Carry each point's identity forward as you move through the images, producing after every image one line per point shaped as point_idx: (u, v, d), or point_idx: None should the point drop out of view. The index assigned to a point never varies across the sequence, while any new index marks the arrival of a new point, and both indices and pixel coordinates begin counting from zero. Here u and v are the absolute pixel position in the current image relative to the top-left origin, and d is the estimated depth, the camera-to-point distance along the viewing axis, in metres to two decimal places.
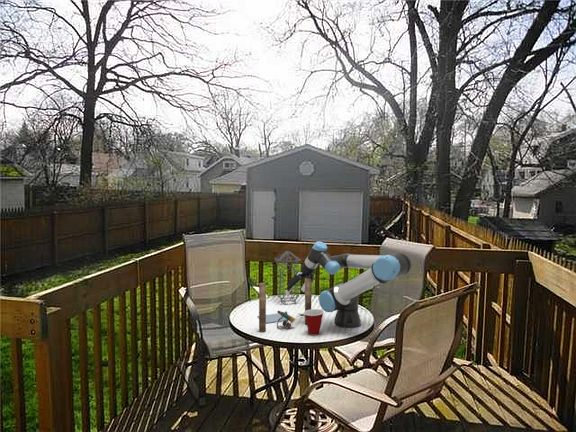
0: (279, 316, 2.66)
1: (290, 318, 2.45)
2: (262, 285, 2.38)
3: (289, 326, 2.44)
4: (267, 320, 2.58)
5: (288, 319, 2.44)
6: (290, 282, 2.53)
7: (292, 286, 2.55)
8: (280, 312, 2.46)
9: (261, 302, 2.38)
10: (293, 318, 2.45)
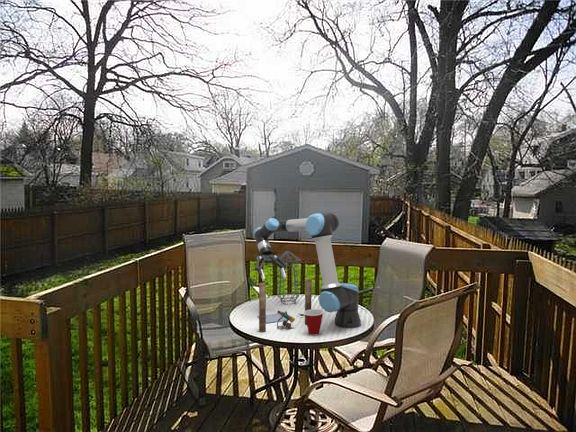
0: (279, 316, 2.66)
1: (290, 318, 2.45)
2: (262, 285, 2.38)
3: (289, 326, 2.44)
4: (267, 320, 2.58)
5: (288, 319, 2.44)
6: (255, 266, 2.62)
7: (260, 268, 2.61)
8: (280, 312, 2.46)
9: (261, 302, 2.38)
10: (293, 318, 2.45)
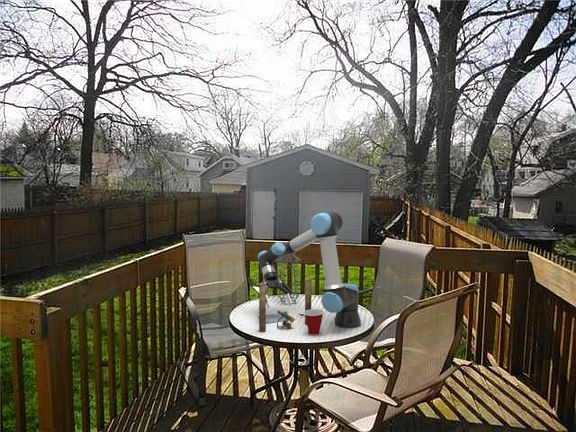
0: (279, 316, 2.66)
1: (290, 318, 2.45)
2: (262, 285, 2.38)
3: (289, 326, 2.44)
4: (267, 320, 2.58)
5: (288, 319, 2.44)
6: None
7: None
8: (280, 312, 2.46)
9: (261, 302, 2.38)
10: (293, 318, 2.45)
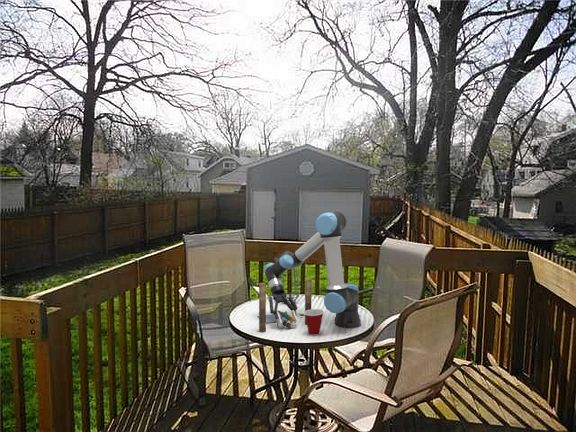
0: None
1: (290, 318, 2.45)
2: (262, 285, 2.38)
3: (289, 326, 2.44)
4: (267, 320, 2.58)
5: (288, 319, 2.44)
6: (270, 308, 2.46)
7: (276, 310, 2.45)
8: (280, 312, 2.46)
9: (261, 302, 2.38)
10: (293, 318, 2.45)
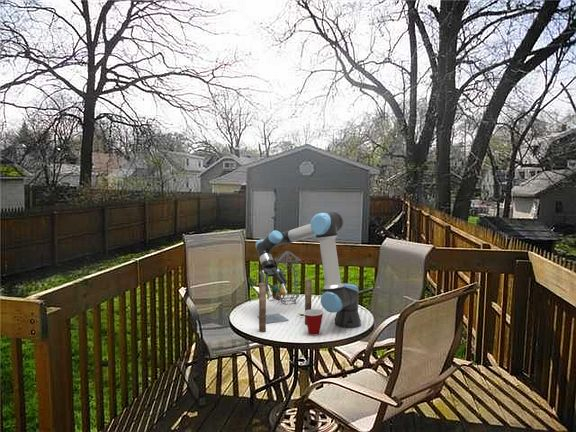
0: (279, 316, 2.66)
1: (280, 291, 2.55)
2: (262, 285, 2.38)
3: (279, 298, 2.54)
4: (267, 320, 2.58)
5: (278, 291, 2.54)
6: (261, 281, 2.56)
7: (266, 283, 2.55)
8: (270, 285, 2.56)
9: (261, 302, 2.38)
10: (283, 291, 2.55)
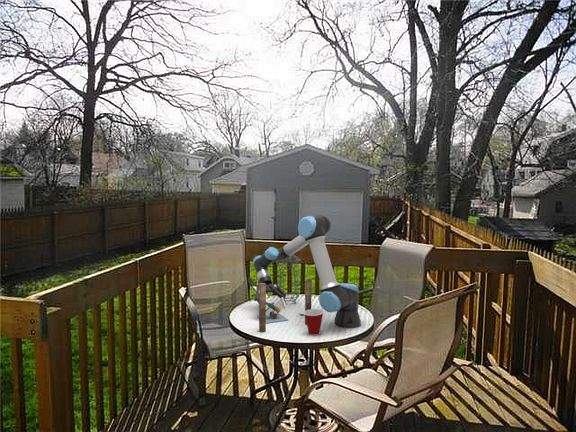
0: (279, 316, 2.66)
1: (276, 309, 2.61)
2: (262, 285, 2.38)
3: (275, 316, 2.60)
4: (267, 320, 2.58)
5: (274, 309, 2.61)
6: (255, 296, 2.62)
7: None
8: (267, 303, 2.62)
9: (261, 302, 2.38)
10: (279, 309, 2.62)
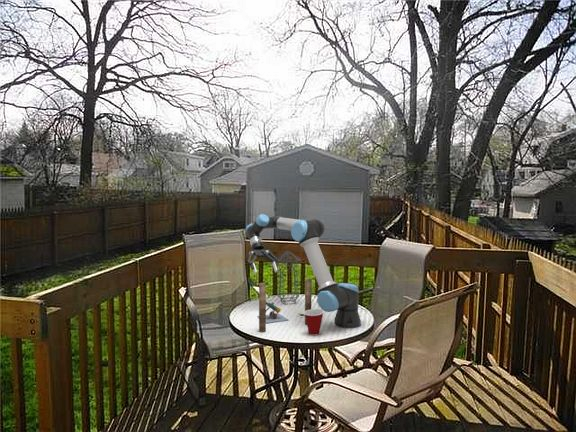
0: (279, 316, 2.66)
1: (276, 309, 2.61)
2: (262, 285, 2.38)
3: (275, 316, 2.60)
4: (267, 320, 2.58)
5: (274, 309, 2.61)
6: None
7: (252, 262, 2.72)
8: (267, 303, 2.62)
9: (261, 302, 2.38)
10: (279, 309, 2.62)
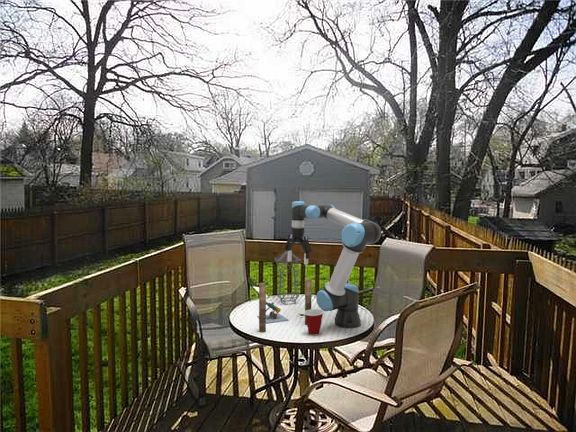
0: (279, 316, 2.66)
1: (276, 309, 2.61)
2: (262, 285, 2.38)
3: (275, 316, 2.60)
4: (267, 320, 2.58)
5: (274, 309, 2.61)
6: None
7: (287, 249, 2.70)
8: (267, 303, 2.62)
9: (261, 302, 2.38)
10: (279, 309, 2.62)
